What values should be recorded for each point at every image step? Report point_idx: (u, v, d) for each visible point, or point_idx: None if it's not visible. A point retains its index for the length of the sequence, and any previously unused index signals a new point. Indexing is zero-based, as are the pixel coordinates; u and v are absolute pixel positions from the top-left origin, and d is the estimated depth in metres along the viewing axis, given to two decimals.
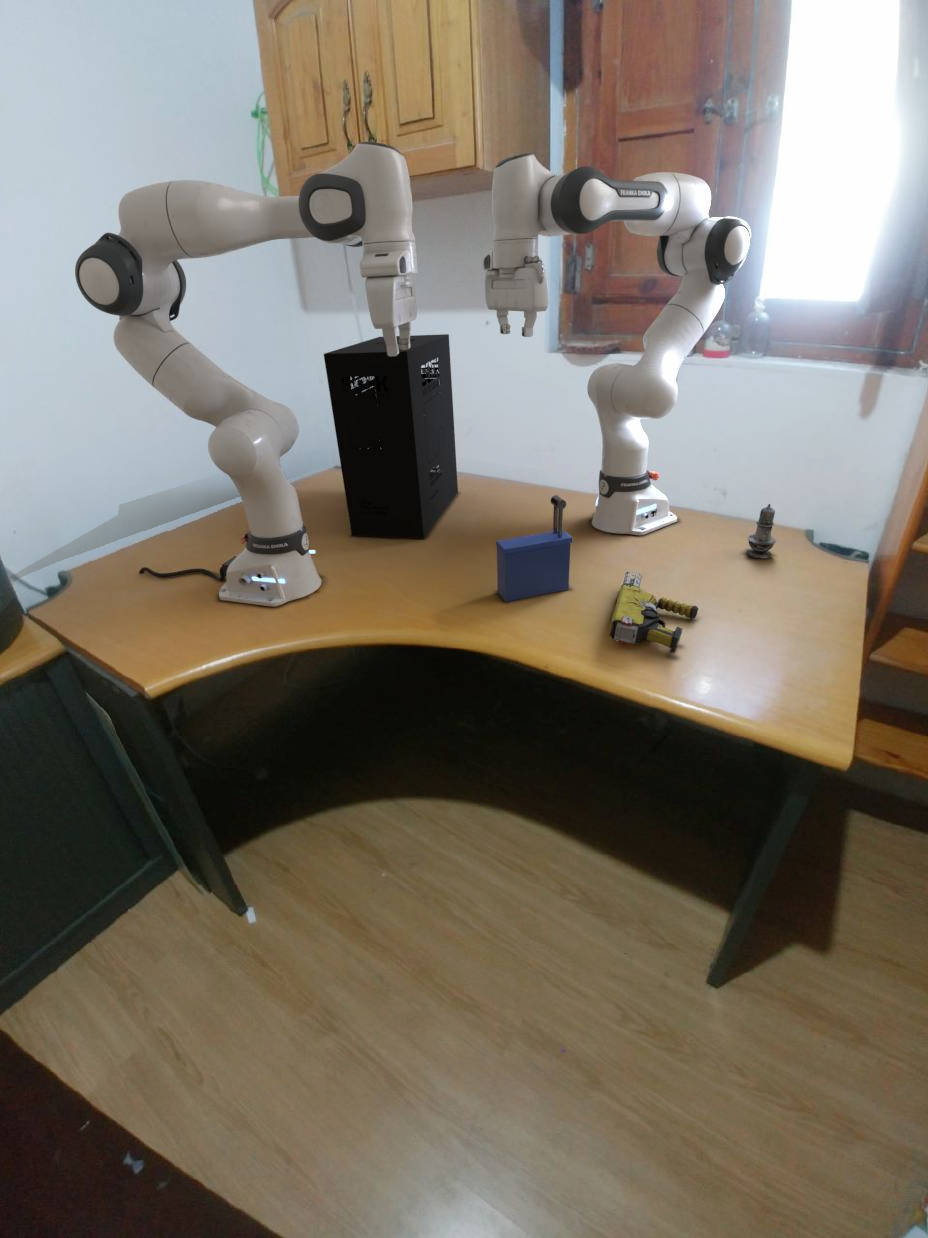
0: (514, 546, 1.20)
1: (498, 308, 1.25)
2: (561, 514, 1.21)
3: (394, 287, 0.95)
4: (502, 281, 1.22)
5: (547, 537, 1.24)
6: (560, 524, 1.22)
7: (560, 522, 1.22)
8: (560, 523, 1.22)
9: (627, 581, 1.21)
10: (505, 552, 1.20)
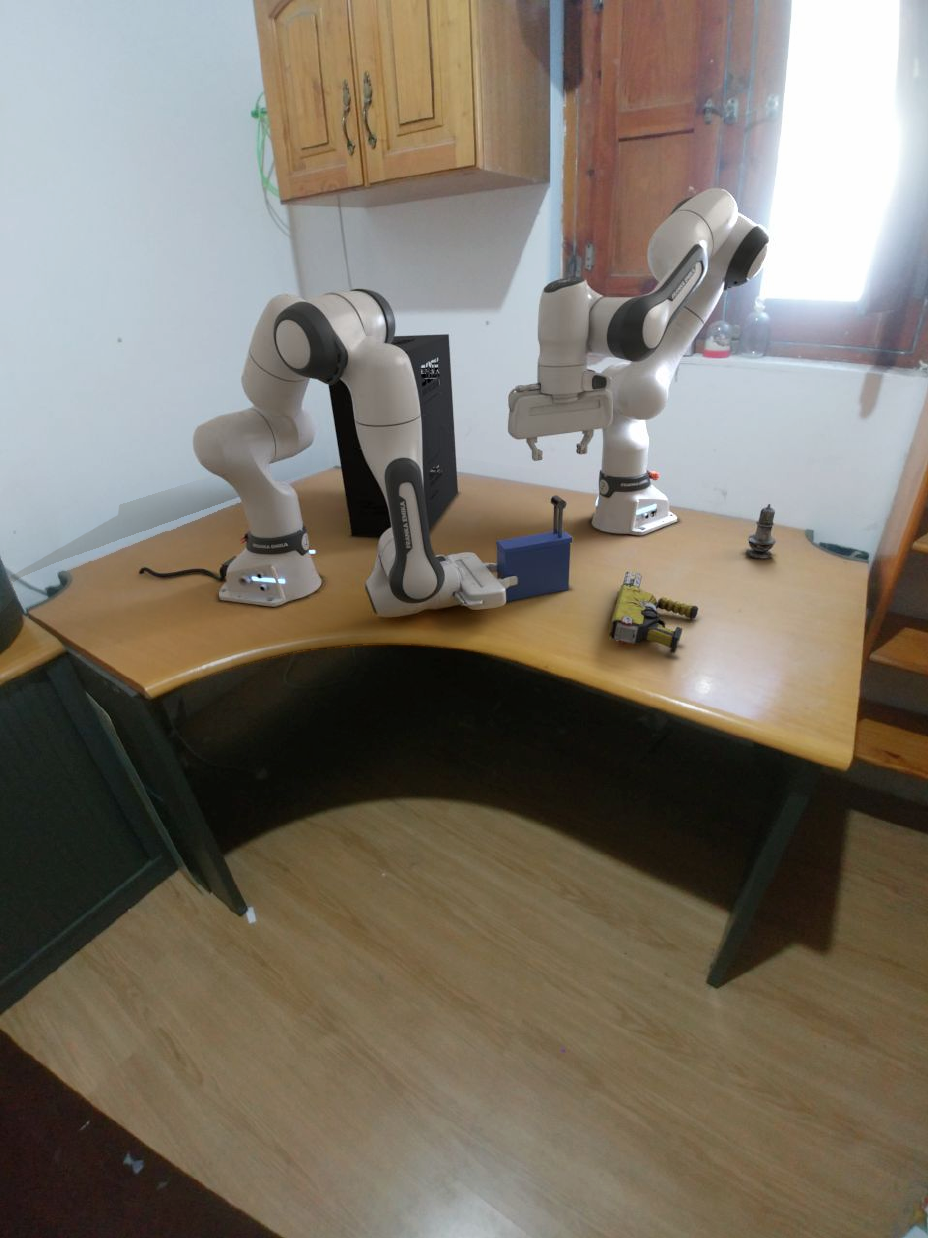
0: (515, 546, 1.20)
1: None
2: (561, 514, 1.21)
3: None
4: None
5: (547, 537, 1.24)
6: (560, 524, 1.22)
7: (560, 522, 1.22)
8: (560, 523, 1.22)
9: (627, 581, 1.21)
10: (505, 552, 1.20)
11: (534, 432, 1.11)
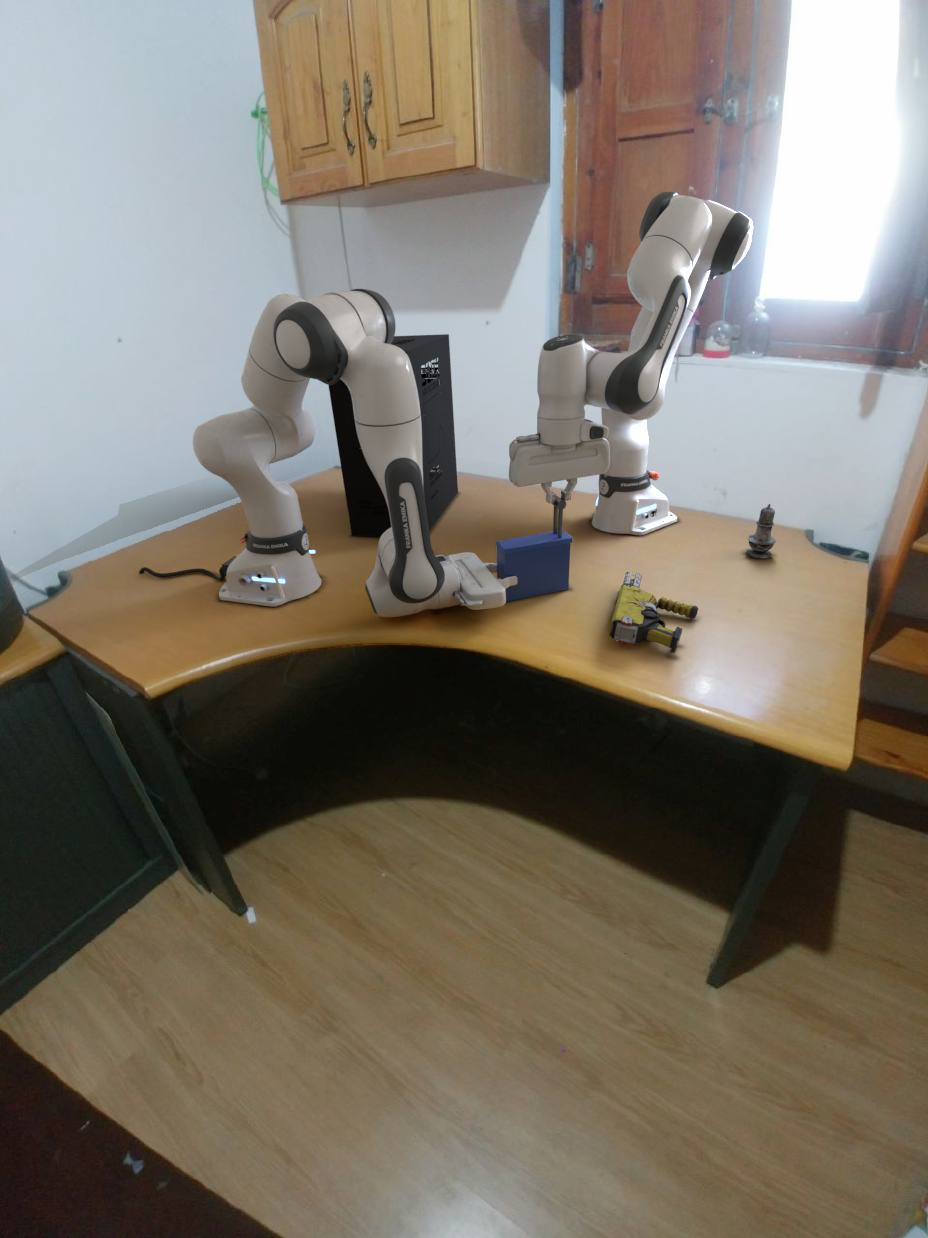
0: (514, 546, 1.20)
1: None
2: (561, 514, 1.21)
3: None
4: None
5: (547, 537, 1.24)
6: (560, 524, 1.22)
7: (560, 522, 1.22)
8: (560, 523, 1.22)
9: (627, 581, 1.21)
10: (505, 552, 1.20)
11: (534, 480, 1.15)
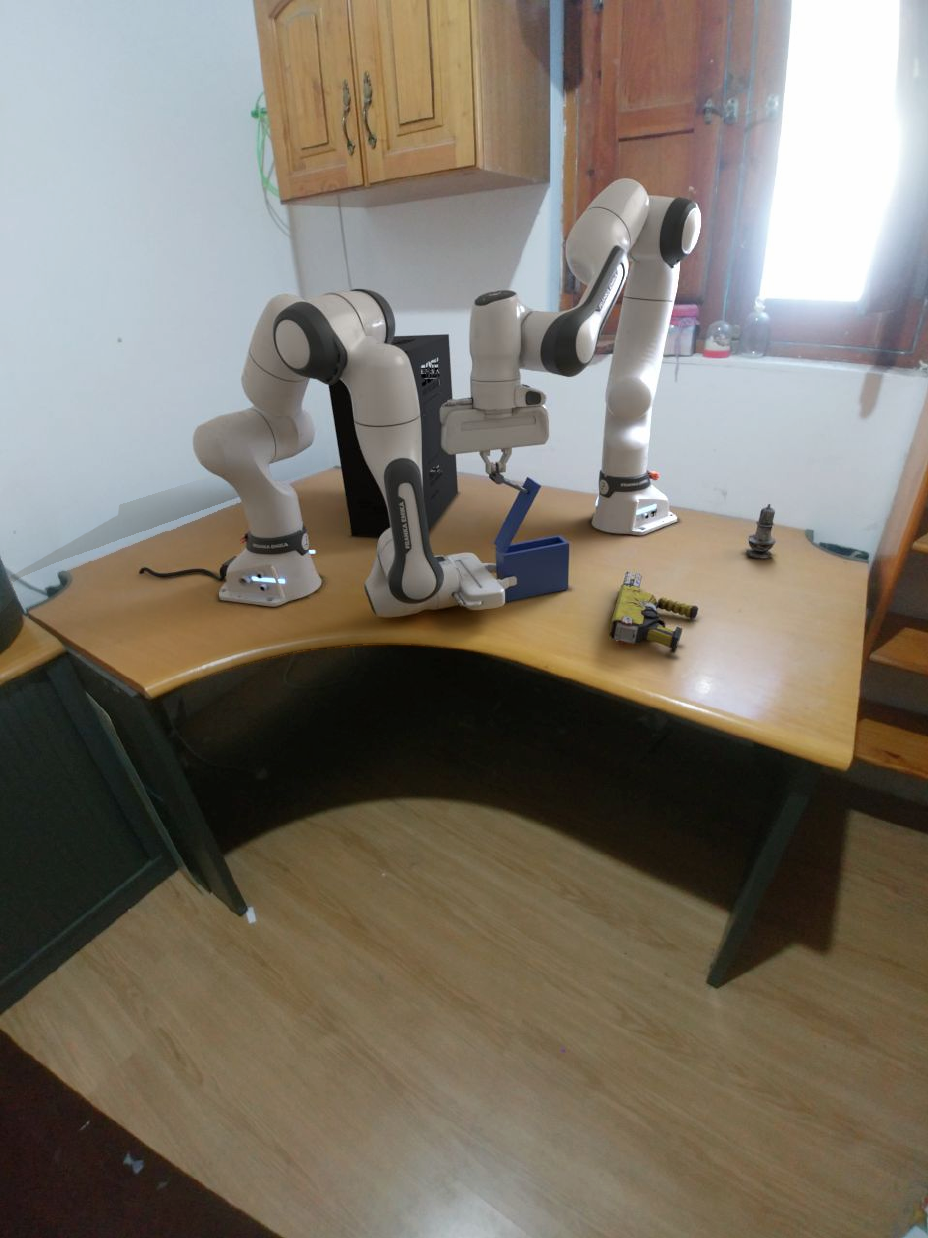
0: (505, 540, 1.19)
1: None
2: (508, 483, 1.14)
3: None
4: None
5: (521, 502, 1.18)
6: (516, 487, 1.15)
7: (515, 487, 1.15)
8: (516, 487, 1.15)
9: (627, 581, 1.21)
10: (504, 552, 1.20)
11: (467, 447, 1.08)
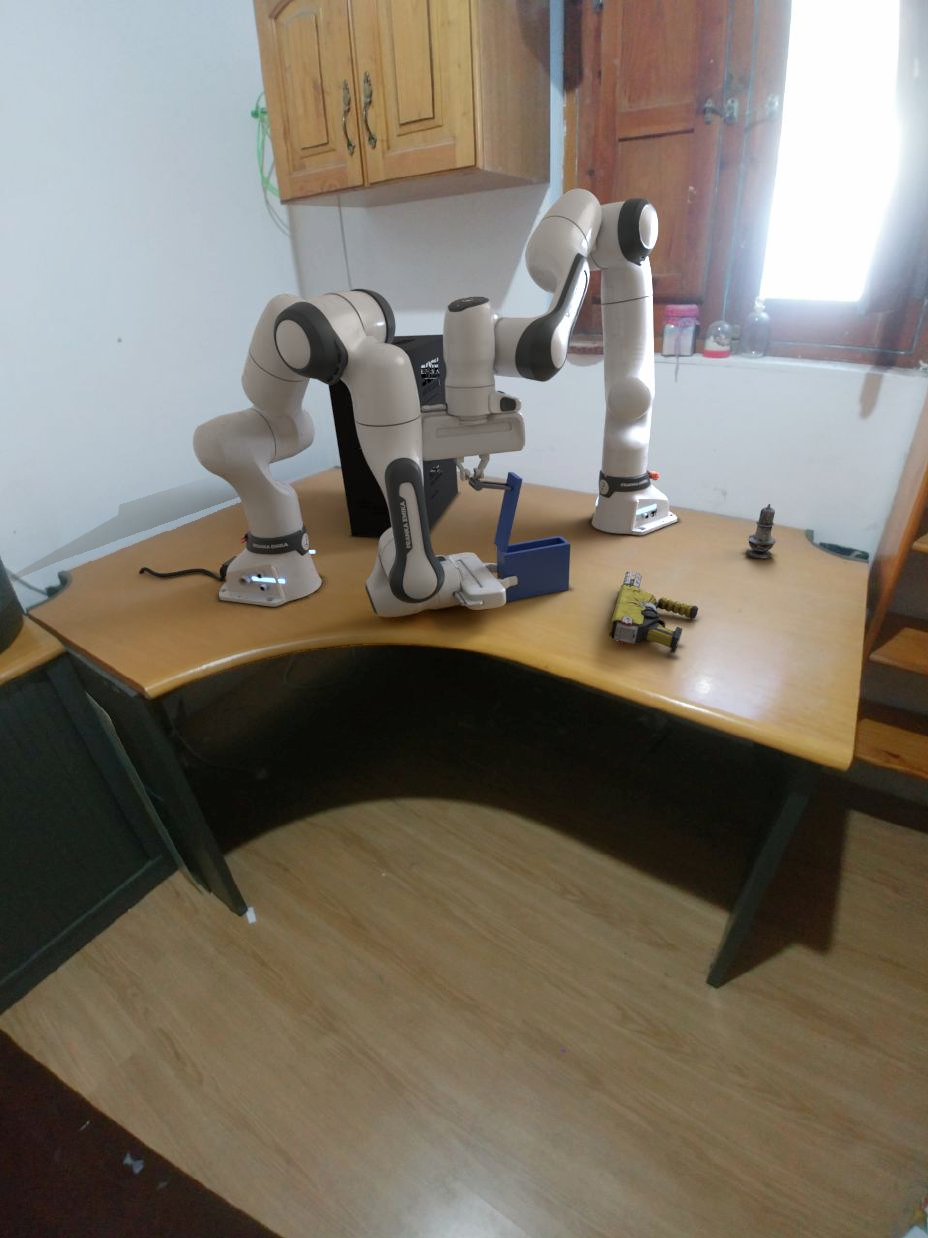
0: (503, 540, 1.19)
1: None
2: (488, 486, 1.13)
3: None
4: None
5: (508, 499, 1.17)
6: (498, 488, 1.14)
7: (496, 488, 1.14)
8: (497, 488, 1.14)
9: (627, 581, 1.21)
10: (505, 551, 1.20)
11: (442, 454, 1.07)
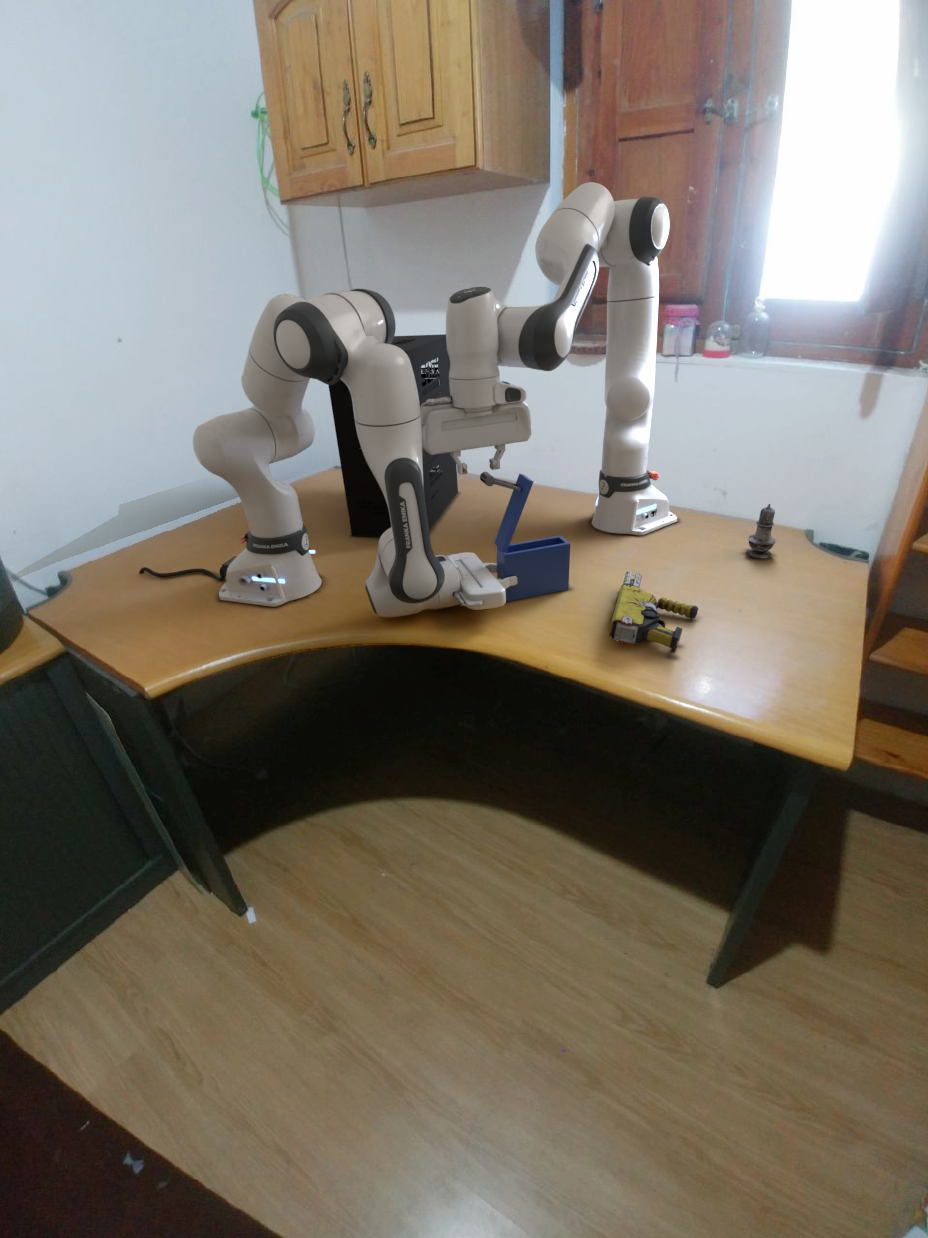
0: (505, 539, 1.19)
1: None
2: (499, 483, 1.14)
3: None
4: None
5: (516, 500, 1.17)
6: (509, 486, 1.14)
7: (507, 486, 1.14)
8: (508, 486, 1.14)
9: (627, 581, 1.21)
10: (505, 551, 1.20)
11: (448, 447, 1.07)
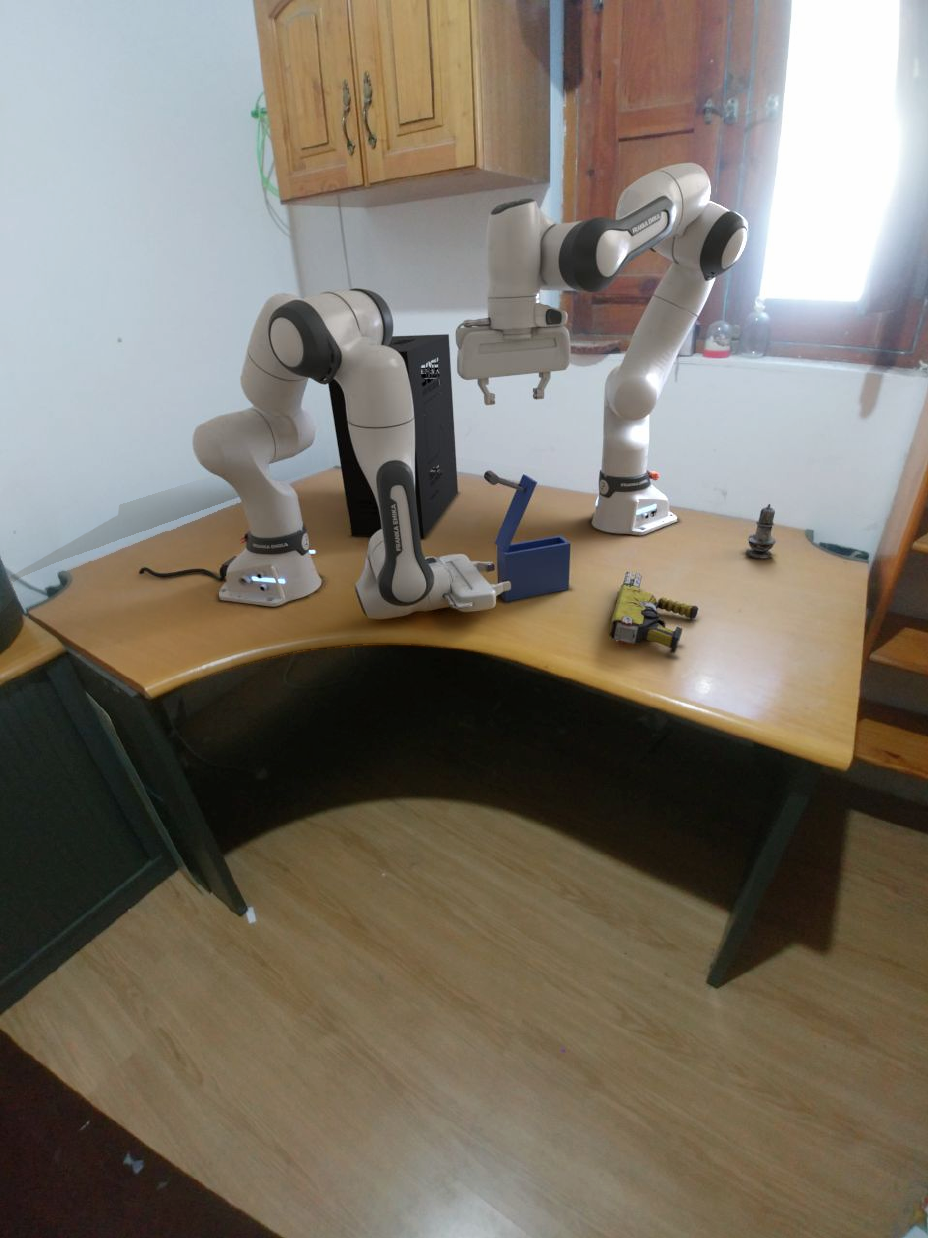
0: (506, 539, 1.19)
1: None
2: (503, 482, 1.14)
3: None
4: None
5: (518, 500, 1.18)
6: (512, 486, 1.15)
7: (510, 486, 1.15)
8: (511, 486, 1.15)
9: (627, 581, 1.21)
10: (505, 551, 1.20)
11: (484, 372, 1.03)
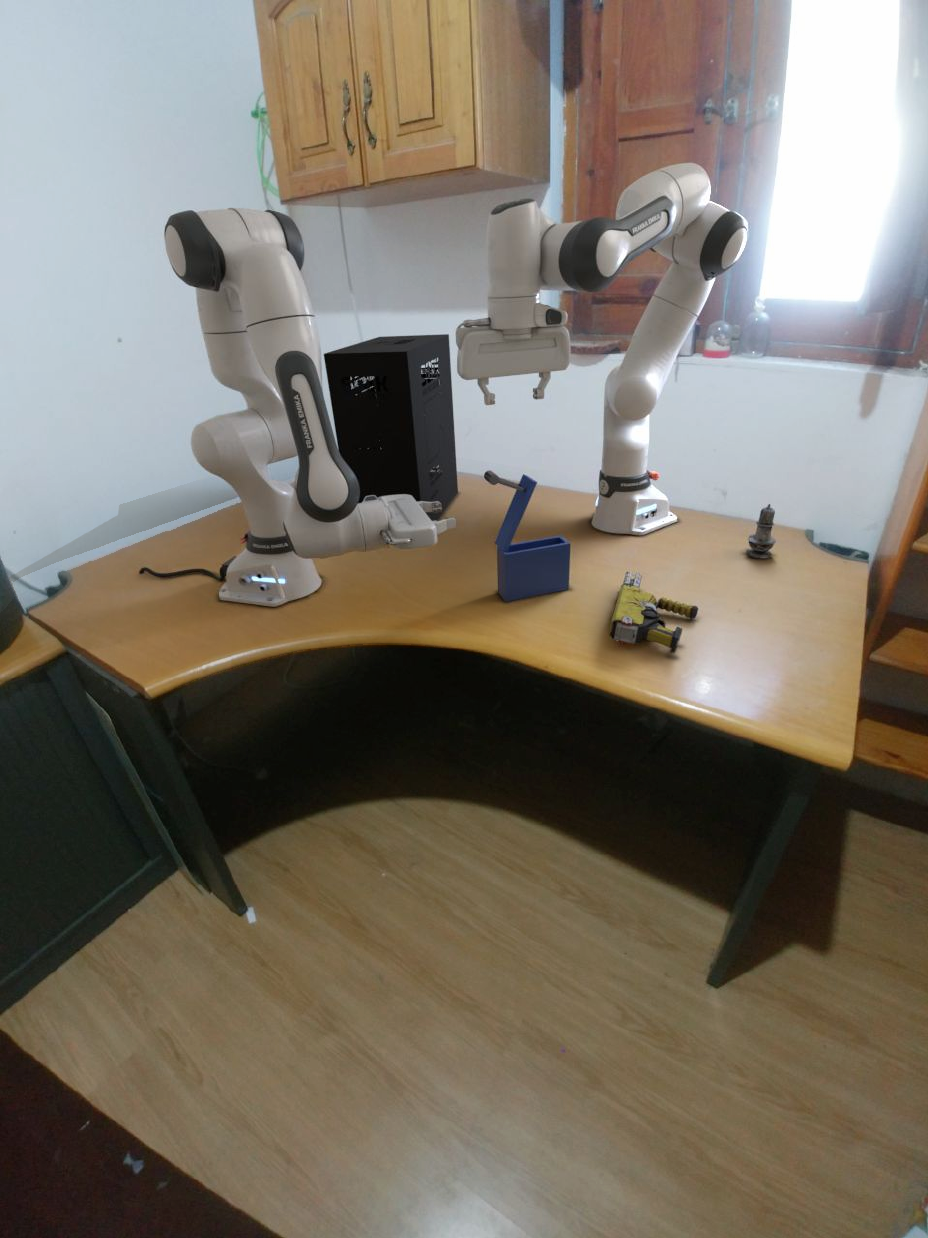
0: (506, 539, 1.19)
1: None
2: (503, 482, 1.14)
3: None
4: None
5: (518, 500, 1.18)
6: (512, 486, 1.15)
7: (510, 486, 1.15)
8: (511, 486, 1.15)
9: (627, 581, 1.21)
10: (505, 551, 1.20)
11: (484, 372, 1.03)
